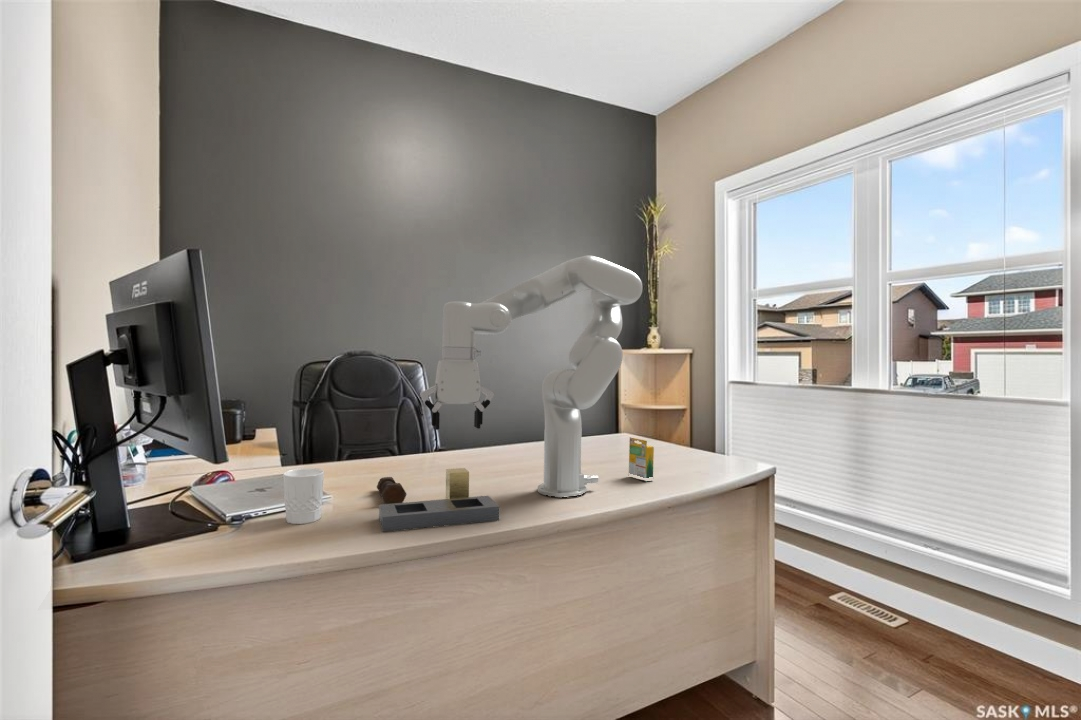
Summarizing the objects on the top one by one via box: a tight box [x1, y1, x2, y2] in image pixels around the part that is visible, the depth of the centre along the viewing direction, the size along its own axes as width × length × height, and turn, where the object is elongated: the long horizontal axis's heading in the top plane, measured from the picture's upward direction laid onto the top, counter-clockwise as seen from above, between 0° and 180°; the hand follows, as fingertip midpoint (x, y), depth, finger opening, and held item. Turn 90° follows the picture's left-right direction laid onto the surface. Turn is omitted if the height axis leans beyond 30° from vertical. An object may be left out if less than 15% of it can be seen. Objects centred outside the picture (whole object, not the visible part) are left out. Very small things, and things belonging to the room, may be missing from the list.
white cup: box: [282, 467, 325, 525], centre depth 116 cm, size 8×8×10 cm
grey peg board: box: [378, 495, 500, 533], centre depth 117 cm, size 24×9×3 cm, turn 111°
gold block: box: [445, 467, 470, 499], centre depth 129 cm, size 4×4×8 cm
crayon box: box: [628, 437, 655, 478], centre depth 157 cm, size 7×3×12 cm, turn 32°
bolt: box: [376, 476, 408, 504], centre depth 134 cm, size 6×5×15 cm
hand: (457, 428), depth 128 cm, fingers open, 9 cm apart
